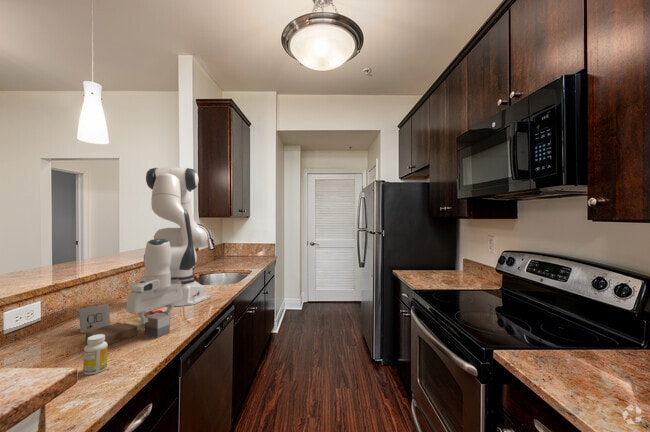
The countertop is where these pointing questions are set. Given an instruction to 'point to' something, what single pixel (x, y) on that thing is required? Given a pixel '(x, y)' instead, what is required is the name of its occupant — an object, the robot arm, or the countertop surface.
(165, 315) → the housing
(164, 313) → the race car
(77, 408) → the countertop surface
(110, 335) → the walnut stand
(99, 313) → the electrical switch
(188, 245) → the robot arm
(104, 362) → the supplement bottle
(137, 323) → the oak riser
